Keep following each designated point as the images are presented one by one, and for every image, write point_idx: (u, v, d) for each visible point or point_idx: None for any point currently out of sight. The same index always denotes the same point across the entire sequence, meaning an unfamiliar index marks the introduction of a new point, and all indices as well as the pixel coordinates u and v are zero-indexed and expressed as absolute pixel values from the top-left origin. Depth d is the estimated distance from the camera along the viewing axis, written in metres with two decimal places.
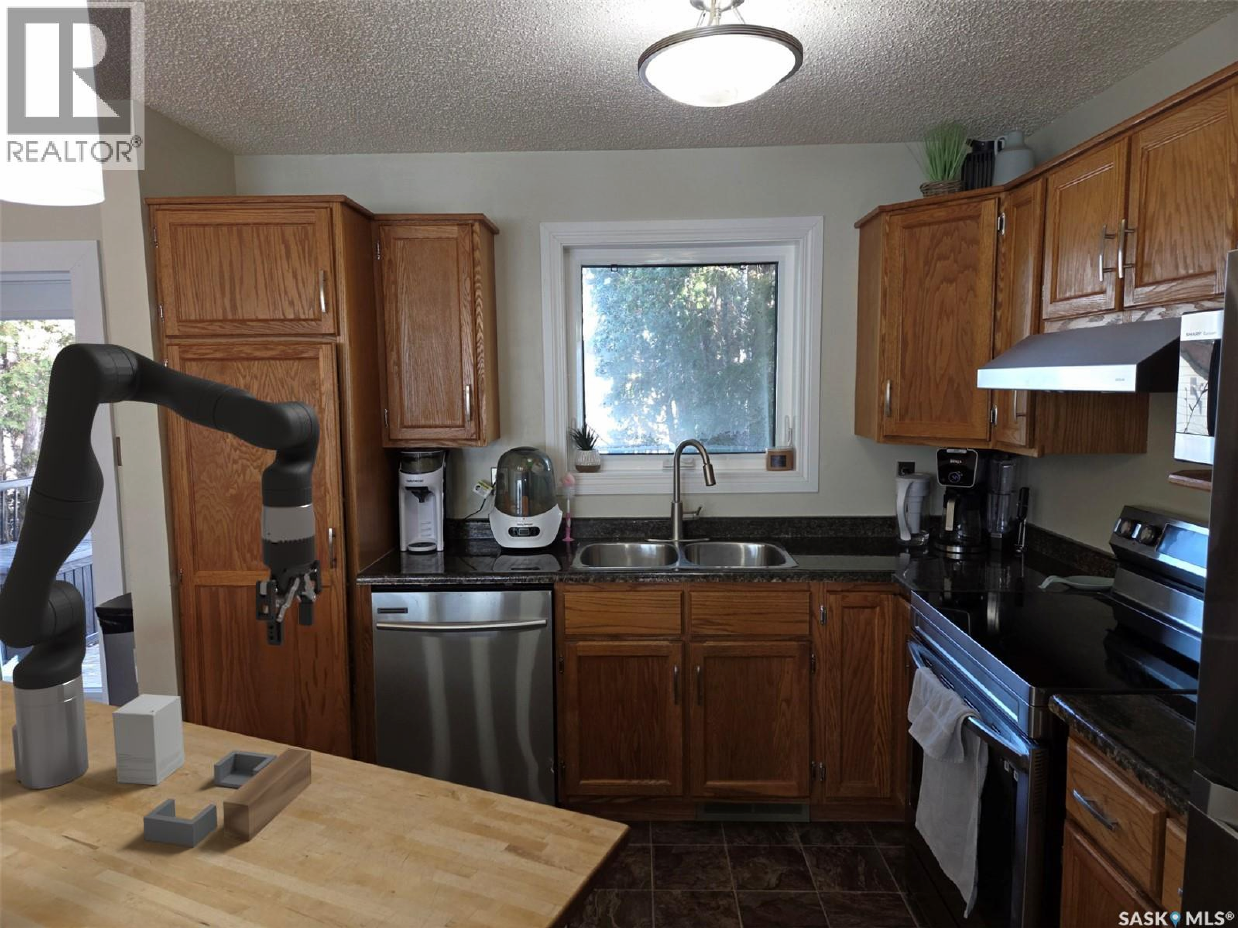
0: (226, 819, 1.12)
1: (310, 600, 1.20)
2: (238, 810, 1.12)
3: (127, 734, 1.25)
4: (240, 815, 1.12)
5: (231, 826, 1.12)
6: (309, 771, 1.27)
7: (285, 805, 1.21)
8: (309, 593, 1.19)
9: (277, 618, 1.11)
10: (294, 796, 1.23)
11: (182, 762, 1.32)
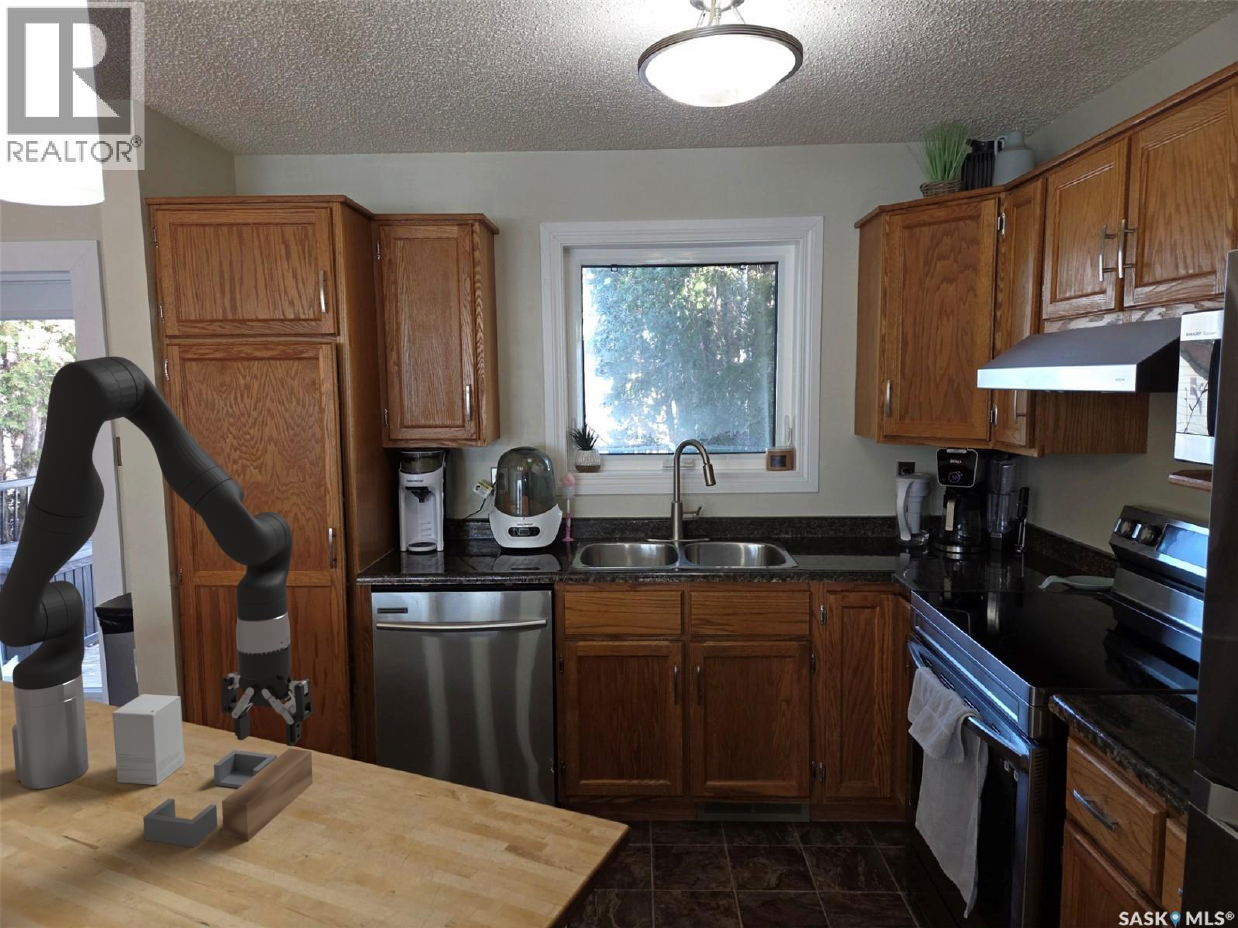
0: (224, 819, 1.13)
1: (247, 710, 1.20)
2: (236, 810, 1.12)
3: (127, 734, 1.25)
4: (238, 815, 1.12)
5: (230, 826, 1.13)
6: (310, 771, 1.27)
7: (285, 805, 1.21)
8: None
9: None
10: (294, 796, 1.23)
11: (182, 762, 1.32)
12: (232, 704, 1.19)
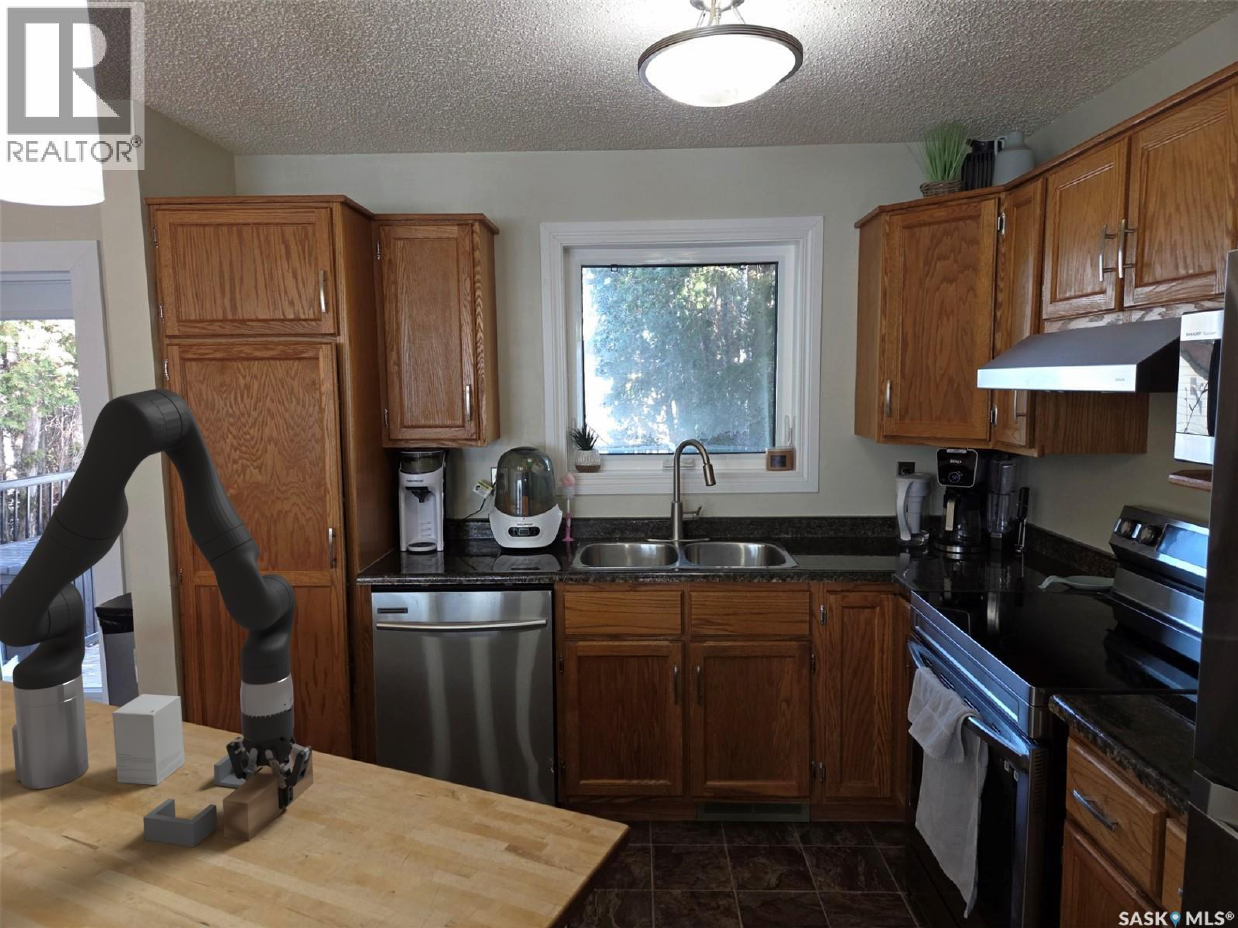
0: (225, 817, 1.13)
1: None
2: (237, 809, 1.12)
3: (127, 734, 1.25)
4: (239, 813, 1.12)
5: (231, 824, 1.13)
6: (310, 770, 1.27)
7: None
8: None
9: None
10: (295, 795, 1.23)
11: (182, 762, 1.32)
12: (246, 769, 1.20)
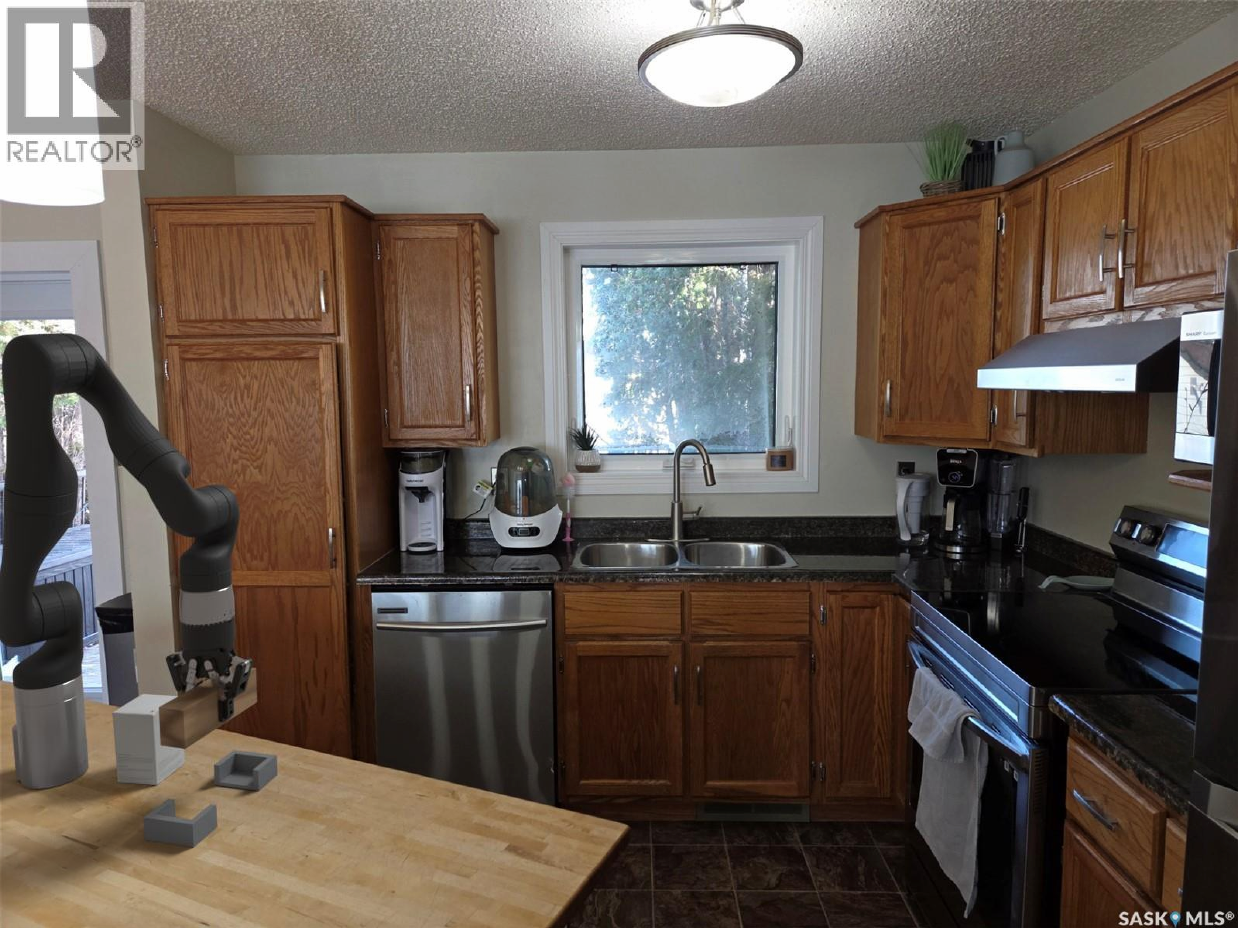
0: (161, 725, 1.11)
1: None
2: (173, 716, 1.11)
3: (127, 734, 1.25)
4: (175, 721, 1.11)
5: (167, 733, 1.11)
6: (254, 688, 1.26)
7: None
8: None
9: None
10: (237, 710, 1.22)
11: (182, 762, 1.32)
12: (186, 682, 1.19)
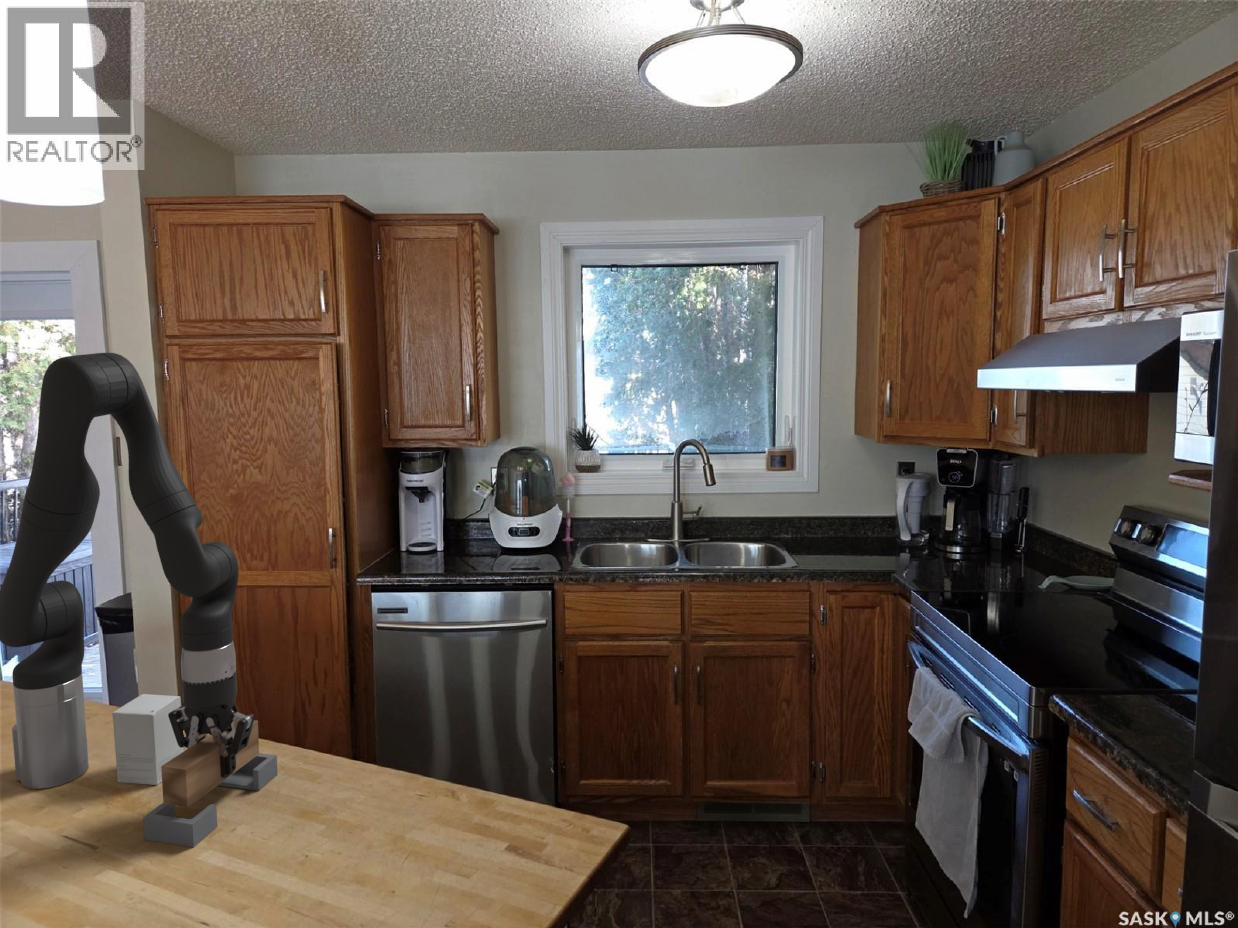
0: (164, 784, 1.12)
1: None
2: (175, 775, 1.12)
3: (127, 734, 1.25)
4: (177, 780, 1.12)
5: (169, 791, 1.12)
6: (256, 740, 1.27)
7: None
8: None
9: None
10: (239, 764, 1.23)
11: None
12: (189, 738, 1.20)
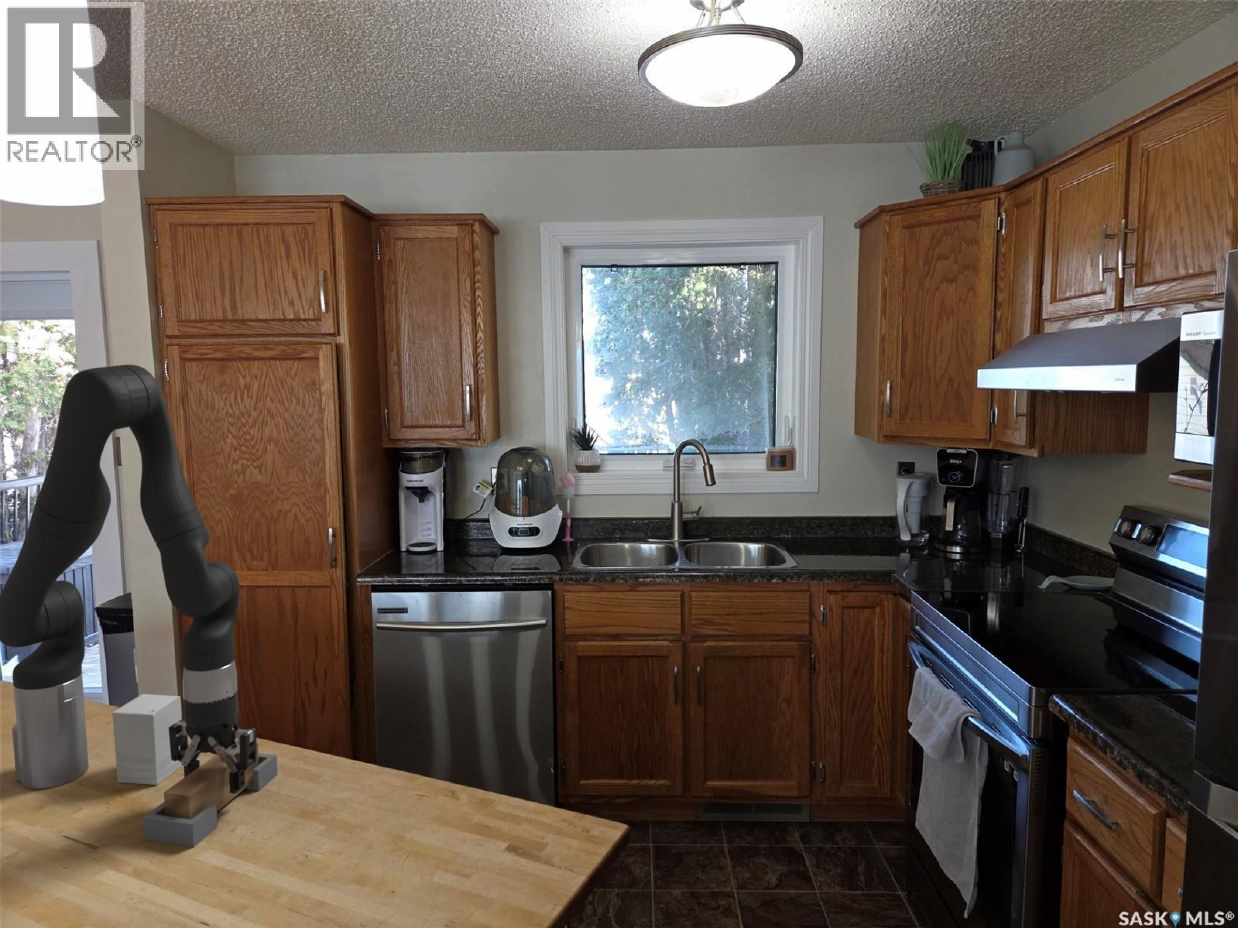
0: (167, 810, 1.13)
1: (197, 757, 1.21)
2: (178, 801, 1.12)
3: (127, 734, 1.25)
4: (180, 806, 1.12)
5: None
6: (256, 763, 1.27)
7: (230, 797, 1.21)
8: None
9: None
10: None
11: None
12: (182, 752, 1.21)
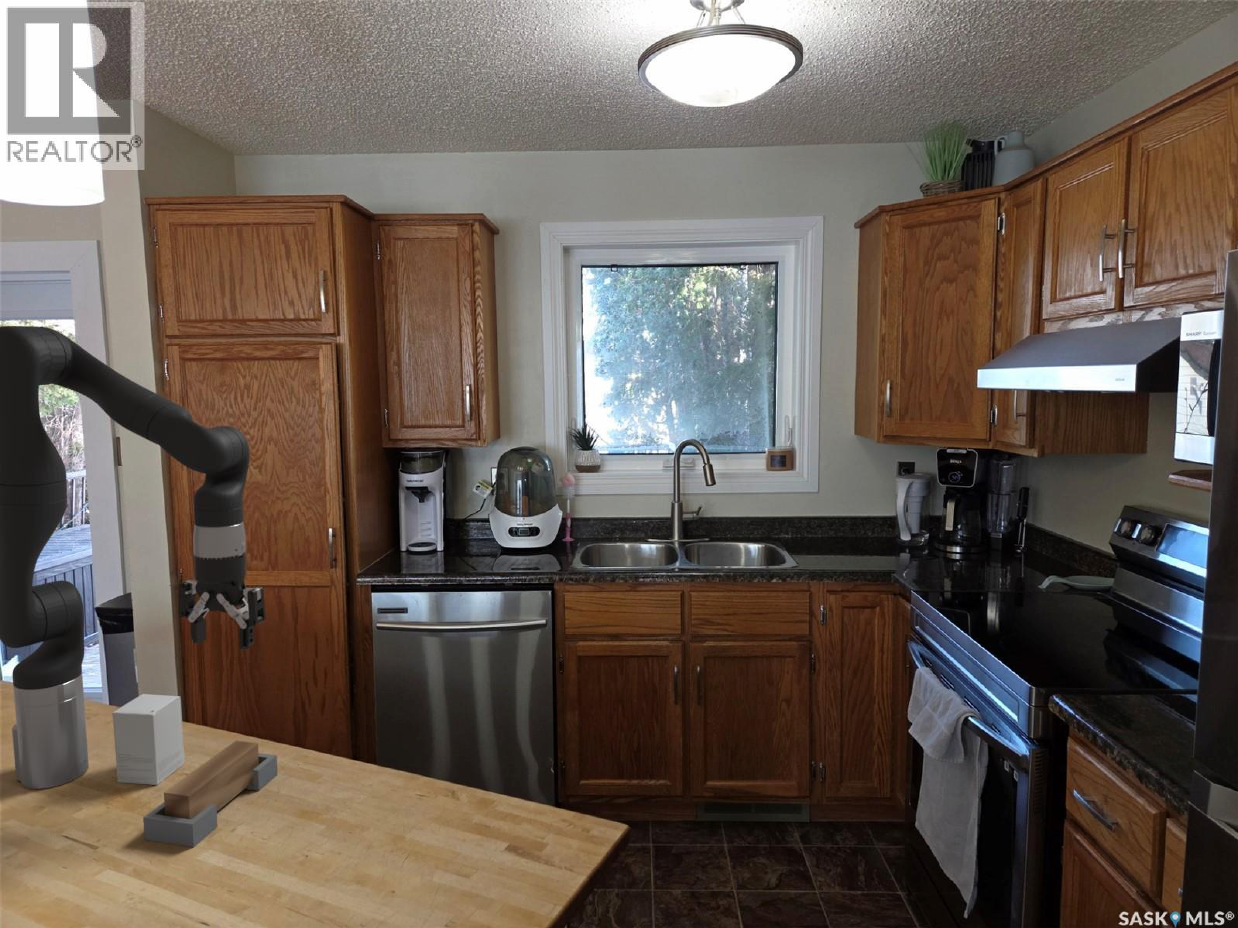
0: (167, 810, 1.13)
1: (204, 616, 1.25)
2: (178, 801, 1.12)
3: (127, 734, 1.25)
4: (180, 806, 1.12)
5: None
6: (256, 763, 1.27)
7: (230, 797, 1.21)
8: None
9: None
10: (240, 788, 1.23)
11: (182, 762, 1.32)
12: (189, 609, 1.24)
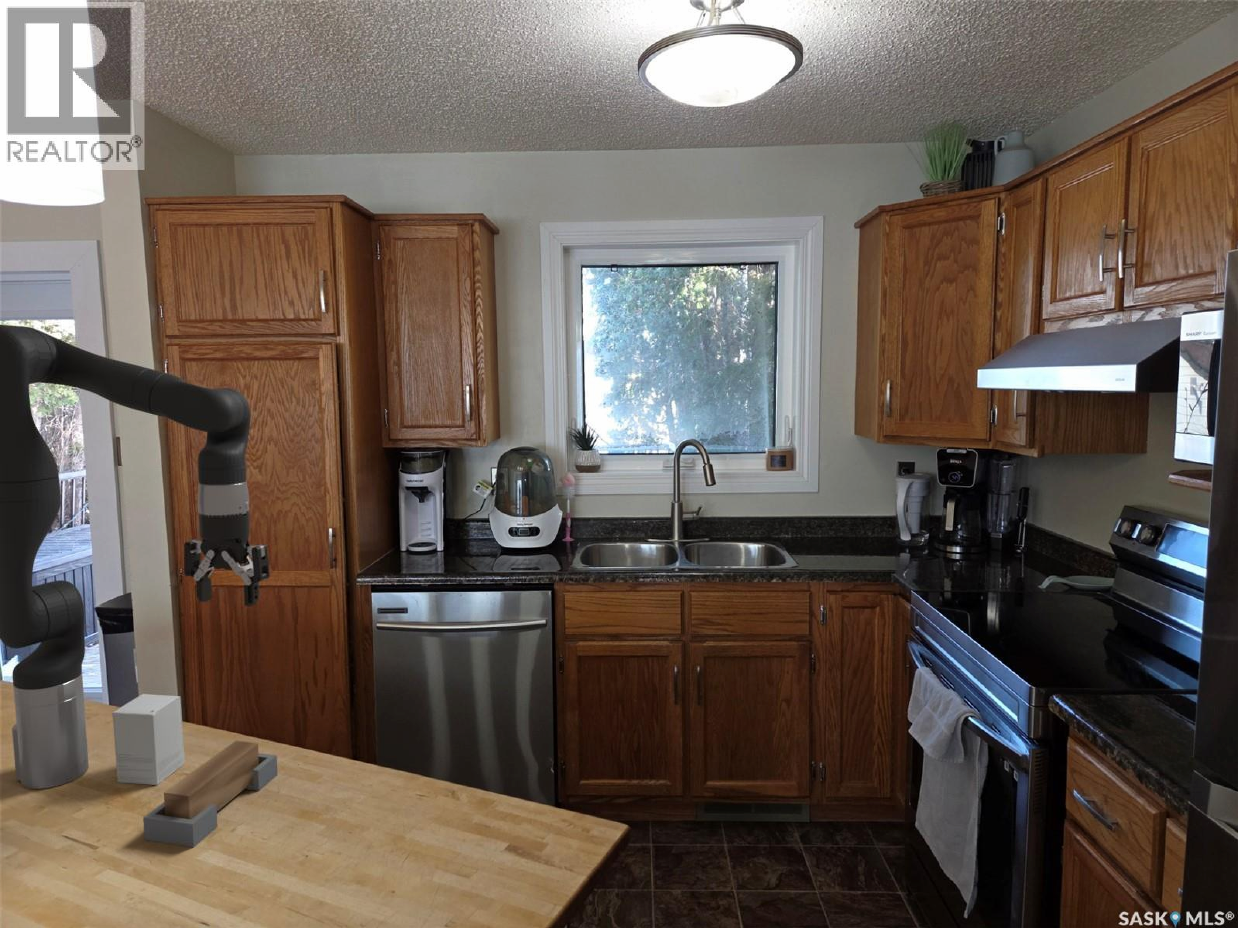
0: (167, 810, 1.13)
1: (209, 575, 1.28)
2: (178, 801, 1.12)
3: (127, 734, 1.25)
4: (180, 806, 1.12)
5: None
6: (256, 763, 1.27)
7: (230, 797, 1.21)
8: None
9: None
10: (240, 788, 1.23)
11: (182, 762, 1.32)
12: (194, 568, 1.27)
